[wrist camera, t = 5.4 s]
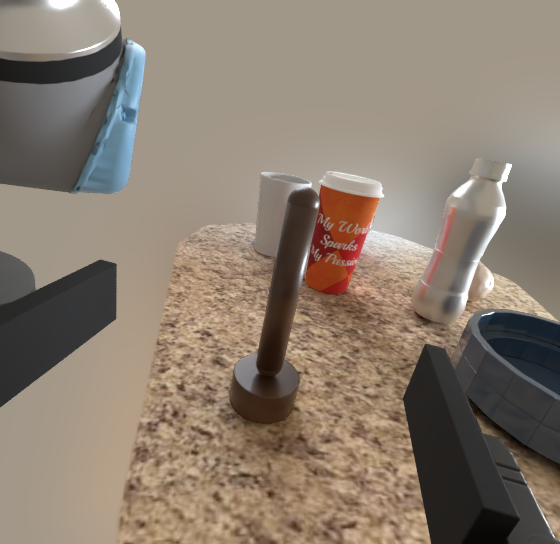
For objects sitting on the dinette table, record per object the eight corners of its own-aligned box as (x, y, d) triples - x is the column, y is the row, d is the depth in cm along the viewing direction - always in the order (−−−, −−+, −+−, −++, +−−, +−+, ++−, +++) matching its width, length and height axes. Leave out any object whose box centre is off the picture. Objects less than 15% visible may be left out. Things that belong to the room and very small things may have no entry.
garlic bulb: (464, 289, 59) (483, 244, 55) (491, 309, 53) (515, 260, 50) (429, 286, 57) (447, 239, 54) (454, 306, 51) (476, 255, 48)
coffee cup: (295, 290, 46) (321, 174, 40) (298, 267, 54) (321, 167, 48) (358, 303, 46) (393, 189, 40) (352, 279, 54) (381, 180, 48)
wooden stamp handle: (225, 377, 29) (257, 173, 22) (283, 375, 30) (329, 184, 24) (234, 426, 24) (277, 190, 18) (301, 421, 26) (362, 202, 20)
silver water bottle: (412, 323, 44) (476, 157, 36) (402, 299, 50) (454, 153, 42) (464, 335, 43) (540, 170, 36) (447, 309, 50) (509, 164, 42)
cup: (244, 252, 55) (256, 175, 51) (254, 238, 63) (265, 169, 58) (293, 263, 55) (310, 187, 50) (297, 248, 62) (312, 179, 58)
